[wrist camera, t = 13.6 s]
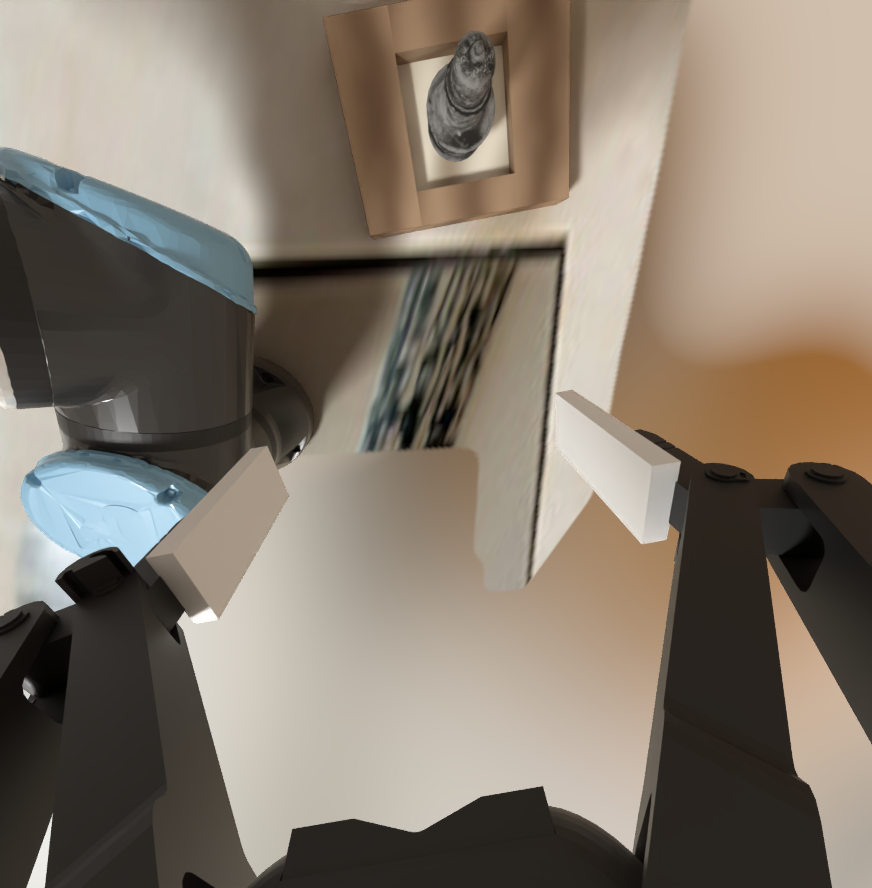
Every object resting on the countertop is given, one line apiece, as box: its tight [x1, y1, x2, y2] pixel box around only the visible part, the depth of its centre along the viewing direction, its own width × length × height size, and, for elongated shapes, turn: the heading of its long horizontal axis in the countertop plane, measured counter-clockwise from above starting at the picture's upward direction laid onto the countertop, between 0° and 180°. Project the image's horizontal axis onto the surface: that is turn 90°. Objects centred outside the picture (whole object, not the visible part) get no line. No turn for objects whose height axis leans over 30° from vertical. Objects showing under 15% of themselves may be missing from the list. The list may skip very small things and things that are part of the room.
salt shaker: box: [426, 31, 496, 162], centre depth 26 cm, size 6×6×12 cm
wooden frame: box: [323, 0, 570, 239], centre depth 31 cm, size 20×15×3 cm
